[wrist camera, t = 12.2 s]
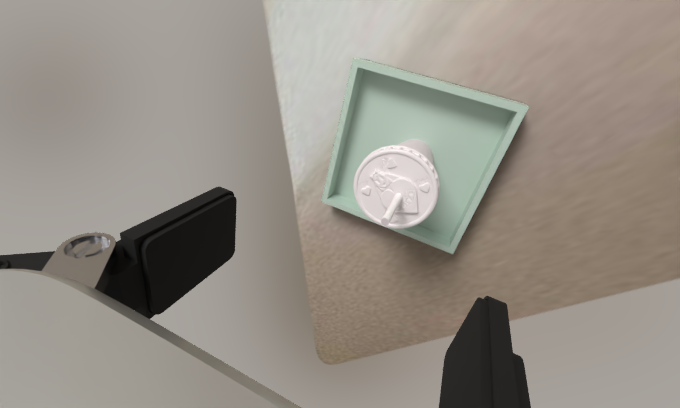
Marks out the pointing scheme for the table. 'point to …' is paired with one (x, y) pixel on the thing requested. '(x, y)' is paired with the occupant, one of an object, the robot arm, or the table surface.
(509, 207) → the table surface
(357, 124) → the tray
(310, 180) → the table surface
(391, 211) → the smoothie
